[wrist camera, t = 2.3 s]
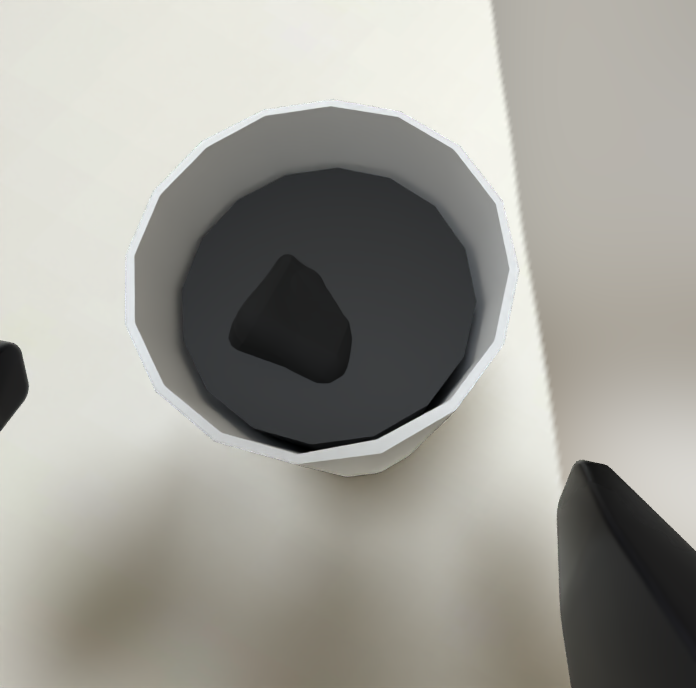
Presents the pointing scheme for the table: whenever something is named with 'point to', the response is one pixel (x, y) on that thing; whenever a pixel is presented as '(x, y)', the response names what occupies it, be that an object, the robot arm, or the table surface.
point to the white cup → (321, 284)
